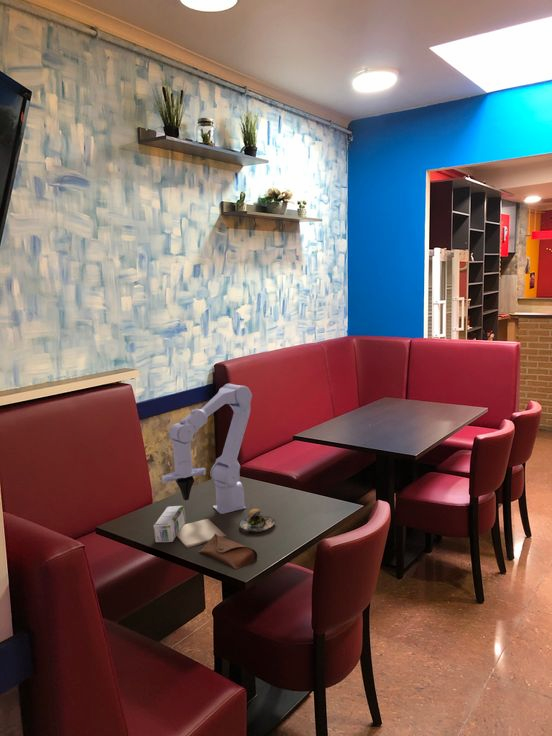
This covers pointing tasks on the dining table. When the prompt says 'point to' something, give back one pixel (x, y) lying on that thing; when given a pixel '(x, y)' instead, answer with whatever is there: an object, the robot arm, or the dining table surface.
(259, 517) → the burger
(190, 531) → the beige folded napkin
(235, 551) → the sunglasses case
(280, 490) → the dining table surface
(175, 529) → the syrup box
